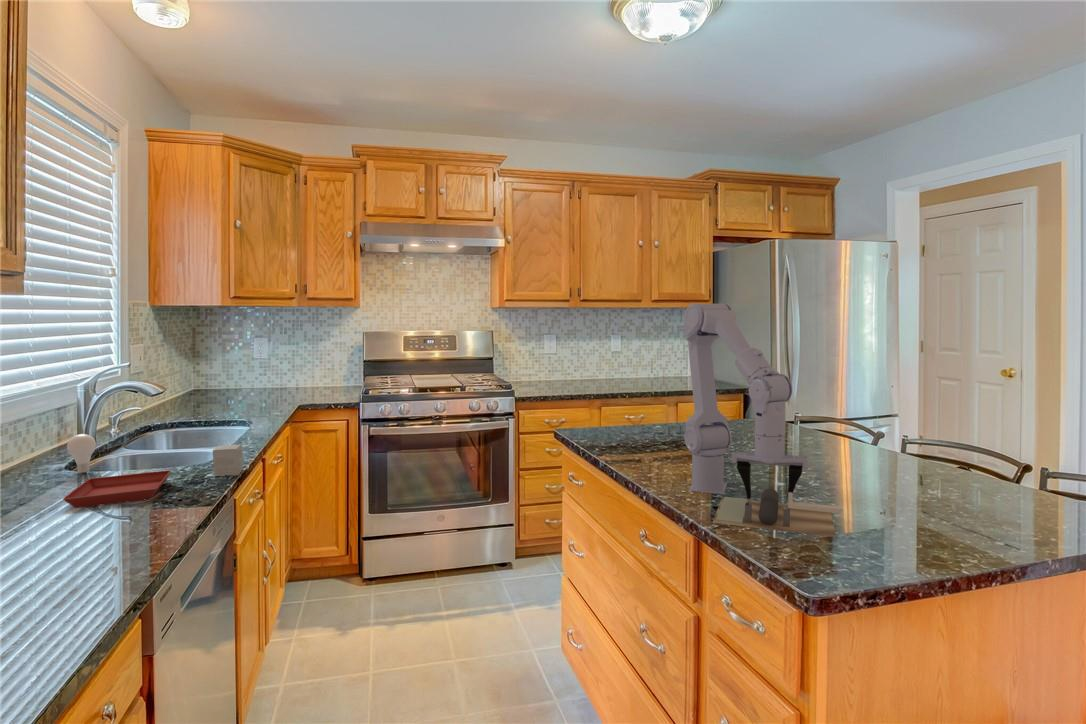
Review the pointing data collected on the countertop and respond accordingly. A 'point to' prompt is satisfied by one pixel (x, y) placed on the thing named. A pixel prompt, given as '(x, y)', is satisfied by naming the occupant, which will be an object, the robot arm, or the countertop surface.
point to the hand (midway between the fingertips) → (768, 499)
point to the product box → (227, 460)
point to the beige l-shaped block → (812, 506)
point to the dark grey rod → (769, 507)
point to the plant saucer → (117, 489)
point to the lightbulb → (81, 450)
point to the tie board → (787, 519)
